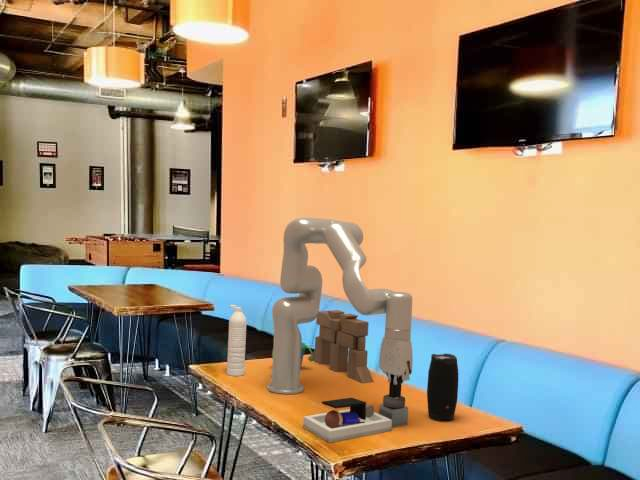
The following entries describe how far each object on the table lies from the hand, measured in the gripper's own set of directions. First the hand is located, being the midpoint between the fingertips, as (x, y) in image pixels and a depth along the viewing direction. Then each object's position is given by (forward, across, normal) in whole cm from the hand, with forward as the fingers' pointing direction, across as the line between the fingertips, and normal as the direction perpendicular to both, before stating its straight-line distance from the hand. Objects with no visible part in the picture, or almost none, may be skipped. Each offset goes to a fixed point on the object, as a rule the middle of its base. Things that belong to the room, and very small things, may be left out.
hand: (394, 396), depth 175 cm
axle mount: (+8, 0, 0) cm, 8 cm away
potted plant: (+8, -66, +4) cm, 67 cm away
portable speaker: (+8, +3, +16) cm, 18 cm away
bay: (+8, -2, -16) cm, 17 cm away
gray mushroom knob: (+7, 0, 0) cm, 7 cm away
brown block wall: (+8, -58, +22) cm, 63 cm away
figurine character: (+7, -2, -16) cm, 17 cm away
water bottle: (+8, -69, -19) cm, 72 cm away
